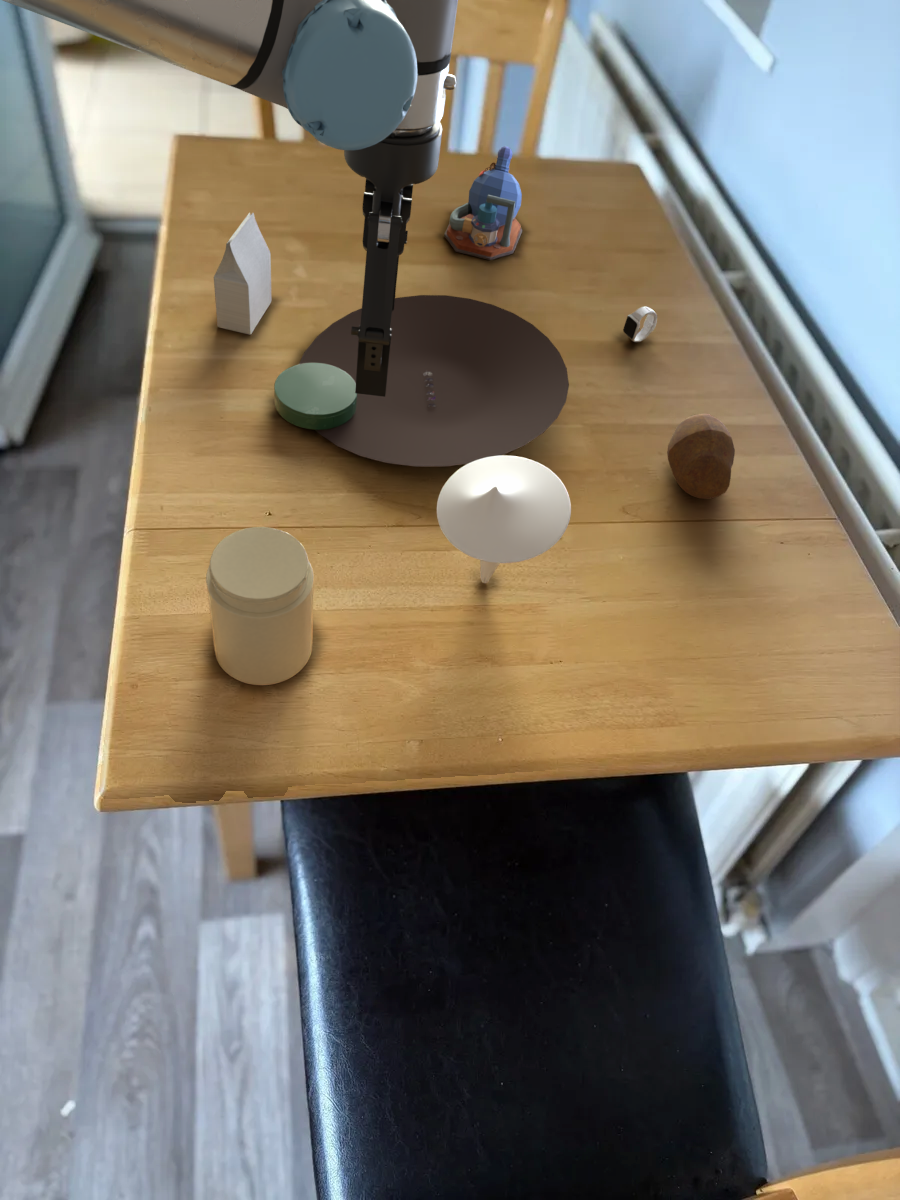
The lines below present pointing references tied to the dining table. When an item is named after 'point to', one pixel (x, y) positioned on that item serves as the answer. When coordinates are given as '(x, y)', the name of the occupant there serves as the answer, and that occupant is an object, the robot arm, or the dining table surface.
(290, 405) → the jar lid
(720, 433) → the potato
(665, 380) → the dining table surface
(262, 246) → the tea bag
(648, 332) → the smartwatch
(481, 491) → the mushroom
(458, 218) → the model
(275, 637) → the jam jar
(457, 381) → the plate
